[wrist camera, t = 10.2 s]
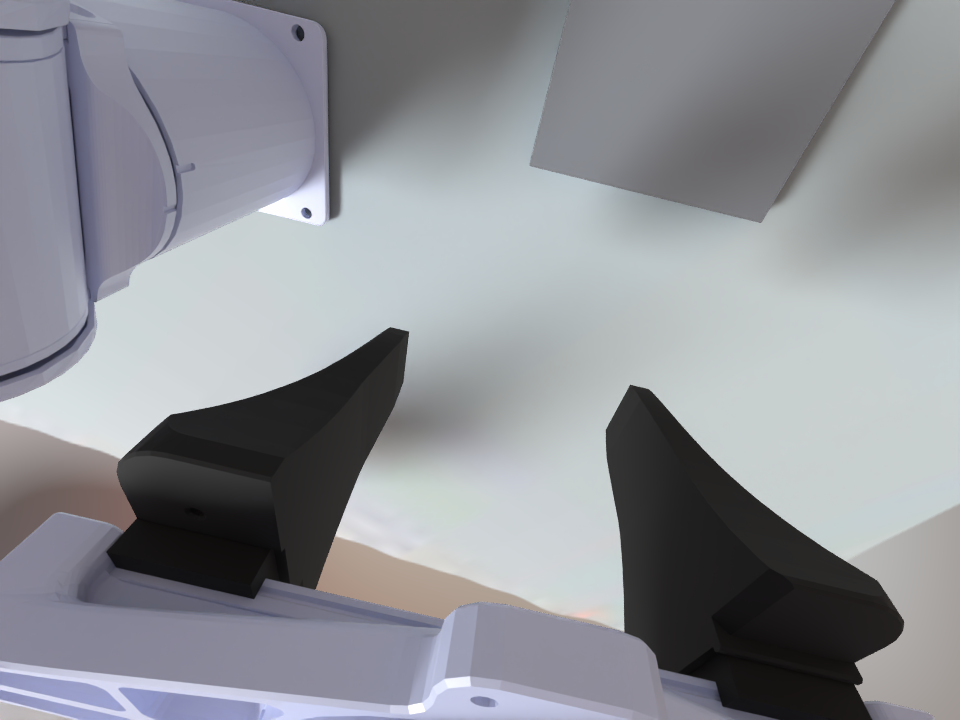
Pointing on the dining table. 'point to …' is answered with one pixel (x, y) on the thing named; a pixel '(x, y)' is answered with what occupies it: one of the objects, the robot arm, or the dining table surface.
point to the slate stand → (698, 94)
